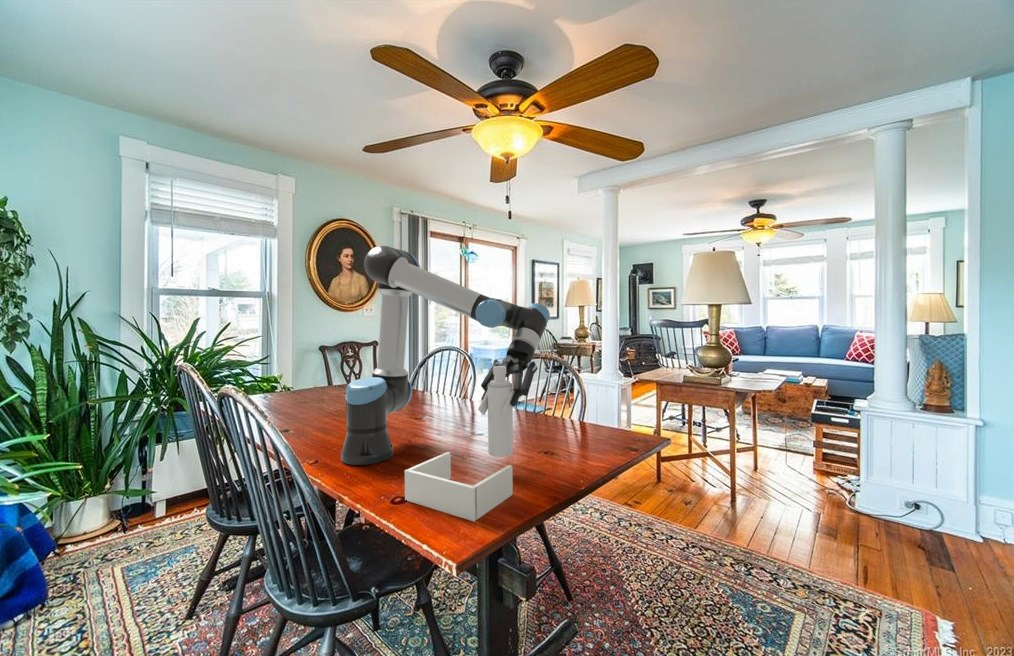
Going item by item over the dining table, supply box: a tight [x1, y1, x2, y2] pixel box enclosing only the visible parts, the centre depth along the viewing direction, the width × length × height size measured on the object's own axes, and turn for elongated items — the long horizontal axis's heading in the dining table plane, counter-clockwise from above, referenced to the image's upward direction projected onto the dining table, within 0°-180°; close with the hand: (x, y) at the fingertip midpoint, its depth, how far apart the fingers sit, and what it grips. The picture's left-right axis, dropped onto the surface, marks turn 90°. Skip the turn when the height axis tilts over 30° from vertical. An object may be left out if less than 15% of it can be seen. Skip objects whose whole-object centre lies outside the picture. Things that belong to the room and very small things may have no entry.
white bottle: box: [487, 365, 514, 458], centre depth 115 cm, size 7×7×25 cm
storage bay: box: [404, 451, 514, 522], centre depth 101 cm, size 20×16×7 cm
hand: (492, 413), depth 112 cm, fingers closed on white bottle, 7 cm apart
